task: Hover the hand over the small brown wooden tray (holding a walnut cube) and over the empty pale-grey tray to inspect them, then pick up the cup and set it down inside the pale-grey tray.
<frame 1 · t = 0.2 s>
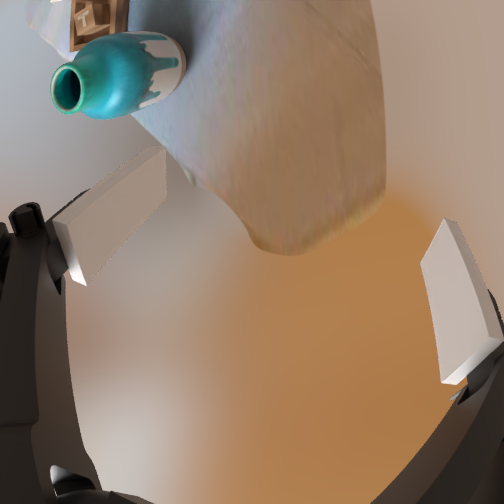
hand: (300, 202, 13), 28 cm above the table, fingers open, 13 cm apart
brown wooden tray: (103, 18, 31), on the table
letter cube: (101, 18, 30), point 1 cm above the table, touching brown wooden tray
vase: (165, 64, 35), on the table
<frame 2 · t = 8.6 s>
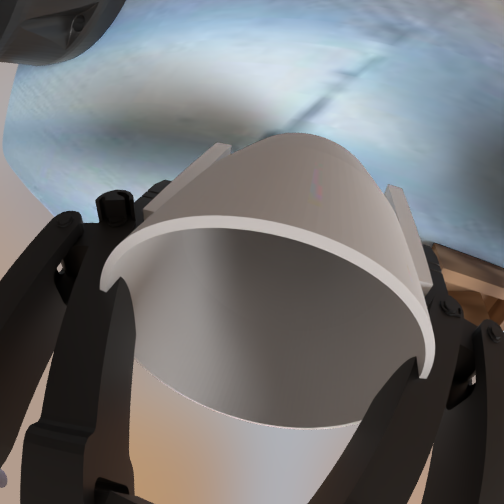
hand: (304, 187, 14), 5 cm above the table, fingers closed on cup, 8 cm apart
brown wooden tray: (452, 303, 21), on the table
letter cube: (454, 308, 21), point 1 cm above the table, touching brown wooden tray
cup: (306, 182, 14), point 5 cm above the table, touching gripper
when the fingers open (2 cm above the table, at t = 13.3 s): cup drops 1 cm, resting on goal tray.
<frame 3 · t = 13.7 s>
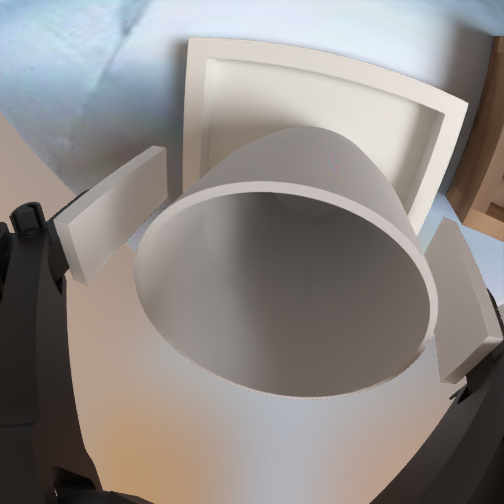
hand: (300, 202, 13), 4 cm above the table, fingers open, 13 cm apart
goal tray: (308, 170, 16), on the table
cup: (313, 173, 15), resting on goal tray
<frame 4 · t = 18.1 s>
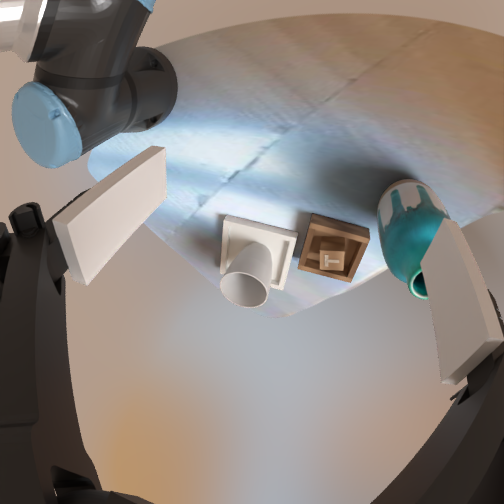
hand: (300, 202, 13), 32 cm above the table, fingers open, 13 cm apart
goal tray: (257, 251, 57), on the table
brown wooden tray: (333, 244, 51), on the table
letter cube: (333, 246, 51), point 1 cm above the table, touching brown wooden tray
cup: (258, 252, 56), resting on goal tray
vase: (404, 199, 43), on the table
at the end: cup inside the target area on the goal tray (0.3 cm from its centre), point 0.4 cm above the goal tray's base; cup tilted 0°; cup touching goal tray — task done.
